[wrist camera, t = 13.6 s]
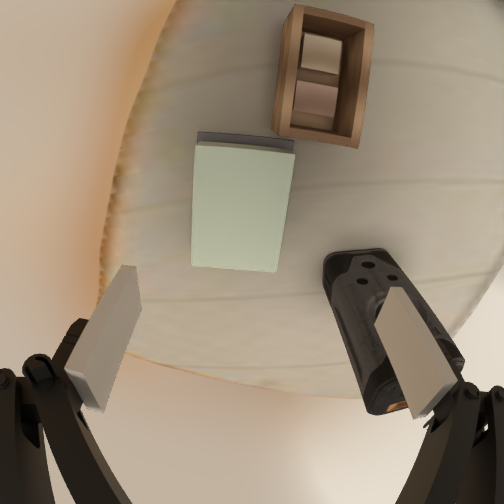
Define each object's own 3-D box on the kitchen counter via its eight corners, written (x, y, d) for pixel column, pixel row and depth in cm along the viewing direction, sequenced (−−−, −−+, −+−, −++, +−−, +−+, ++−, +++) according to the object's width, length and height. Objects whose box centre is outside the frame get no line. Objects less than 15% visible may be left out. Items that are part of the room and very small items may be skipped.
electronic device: (389, 246, 36) (472, 356, 18) (383, 283, 39) (447, 396, 21) (323, 252, 36) (380, 383, 18) (321, 291, 39) (363, 421, 21)
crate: (283, 24, 23) (294, 3, 17) (348, 37, 24) (374, 24, 17) (271, 128, 29) (278, 135, 23) (335, 138, 29) (358, 148, 23)
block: (201, 139, 29) (195, 145, 25) (288, 147, 29) (295, 154, 25) (197, 246, 35) (191, 265, 31) (272, 252, 35) (276, 272, 31)
